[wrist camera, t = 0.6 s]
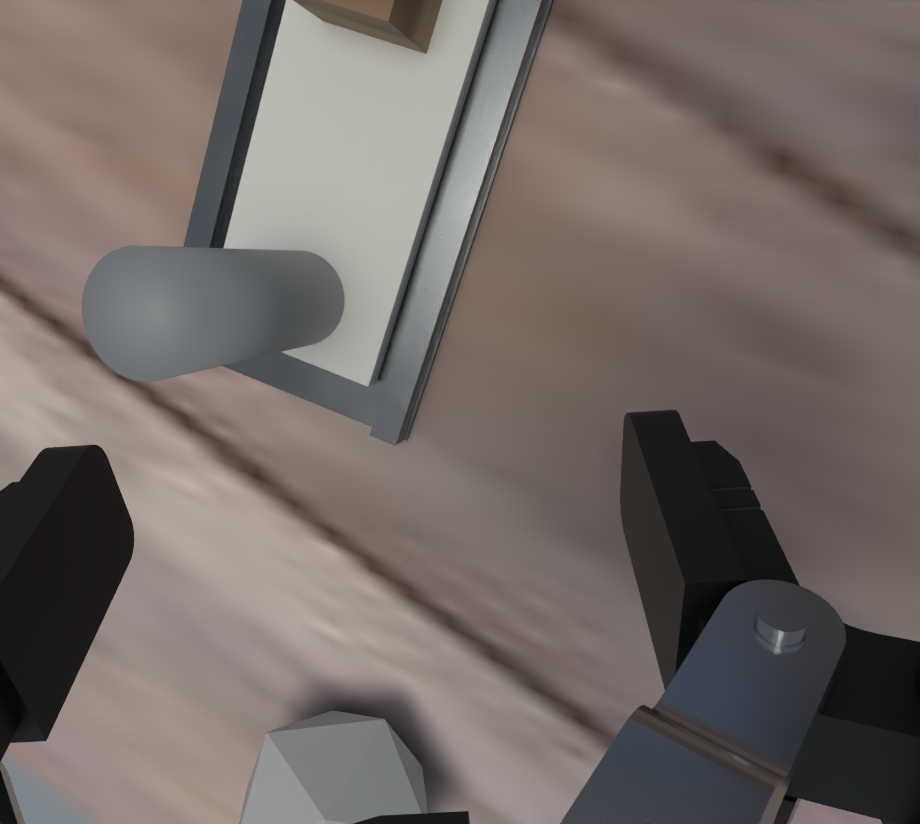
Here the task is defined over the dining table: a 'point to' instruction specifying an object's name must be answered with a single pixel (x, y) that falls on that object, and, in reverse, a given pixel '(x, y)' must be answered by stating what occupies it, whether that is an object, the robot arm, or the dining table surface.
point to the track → (446, 229)
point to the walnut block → (382, 18)
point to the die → (333, 773)
